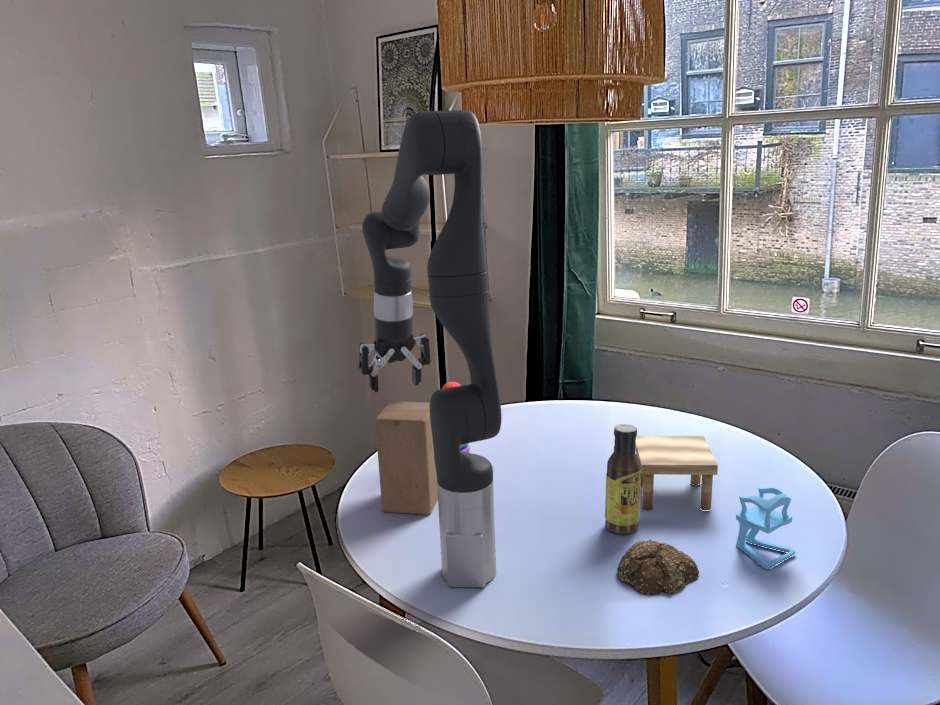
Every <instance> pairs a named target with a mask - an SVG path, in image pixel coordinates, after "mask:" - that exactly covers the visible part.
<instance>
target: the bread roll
mask: <svg viewBox="0 0 940 705" xmlns="http://www.w3.org/2000/svg"><path fill="white" fill-rule="evenodd" d="M616 571H617V576H618V578H619V580H620V581H621V582H624V583H626V584H630V585H632V586H633V587H634V588H635V589H636V591H637V592H639V593H640V594H643V595H647V596H650V595H651V596H654V595H659V594H660V595H661V594H662V593H666V594H676V593H678V592H679V591H681V590H684V589H685V588H686V587H687V585H688V584H690V583H691V582H694V581H696V580H698V576H699V574H700V571H699V567H698V565H697V564H696V561H694V559H693V558H692V557H691V556H689V555H688V554H686V553H685V552H684V551H681V550H678V548H677V547H674V546H673V545H672V544H671V545H670V544H669V543H665V542H659V541H658V540H652V539H648V540H643V541H641V540H640V541H638V542H635V543H634V544H633V545H631V547H629V548H628V549H627V550H626V551H625V553H624V555H623V556H621V559H620V560H619V563H618V565H617V569H616Z"/></svg>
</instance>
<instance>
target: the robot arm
mask: <svg viewBox="0 0 940 705" xmlns="http://www.w3.org/2000/svg"><path fill="white" fill-rule="evenodd" d="M479 124H480V123H479V121H478V119H477V116H476V115H475V114H474V113H473V112H472V111H471V110H467V109H460V110H459V109H454V110H453V109H450V110H425V111H419V112H415V113H414V114H412V115H410V117H409V118H408V120H407V122H406V123H405V126H404V128H403V131H402V135H401V139H400V144H399V149H398V153H397V160H396V164H395V171H394V177H393V180H392V183H391V186H390V189H389V190H388V193H387V194H386V196H385V198H384V201H383V204H382V207H381V210H380V211H373V212H370V213H368V214H366V216H365V218H364V220H363V222H362V226H361V227H362V228H361V229H362V234H363V238H364V240H365V241H364V242H365V244H366V247H367V249H368V252H369V256H370V260H371V263H372V268H373V279H374V280H373V283H374V287H373V288H374V296H373V310H372V311H373V315H374V316H373V317H374V318H373V319H374V341H373V343H365V342H364V341H363V342H362V341H361V342H360V343H359V344H358V370H359V371H360V372H361V374H362V375H363V376H366V375H368V386H369V388H370V389H371V391H373V392H374V393H379V375H378V374H379V372H380V371H381V369H383V368H384V367H385V365H386V364H387V363H388V364H392V363H395V362H404V360H405V359H408V360H409V361H410V363H412V365H411V382H412V384H413V385H414V386H416V387H417V386H419V384H420V383H421V382H422V368H423V367H424V366H429V365H430V364H431V361H432V360H431V349H430V348H431V347H430V339H429V338H428V337H427V336H426V335H425V333H420V334H419V336H415V337H414V304H413V302H414V301H413V295H412V268H411V265H410V263H409V262H408V260H406V259H403V258H398V257H390V256H387V255H386V250H387V251H388V250H395V249H405V248H409V247H412V246H414V245H415V244H417V242H418V241H419V240H420V234H421V230H420V229H421V228H420V225H421V224H420V223H421V219H422V217H423V215H424V214H425V212H426V211H427V209H428V207H429V204H430V200H431V191H430V186H429V185H428V182H427V181H426V179H425V178H424V177H423V175H424V176H425V175H426V176H439V175H440V176H441V175H443V176H444V175H454V176H453V177H454V189H453V190H454V191H453V197H452V203H451V207H450V210H449V213H448V216H447V218H446V220H445V223H444V225H443V226H442V228H441V231H440V232H439V234H438V236H437V237H436V240H435V243H434V244H433V247H432V248H431V251H430V254H429V257H428V260H427V267H426V268H427V270H426V272H427V279H428V280H427V281H428V291H429V303H430V306H431V308H432V312H433V313H434V314H435V316H436V318H437V319H438V320H439V322H440V324H441V326H443V327H444V329H445V330H446V332H447V333H448V334H449V336H451V337H452V339H453V340H454V342H455V343H456V344H457V346H458V347H459V349H460V350H461V352H462V354H463V356H464V357H465V360H466V364H467V366H468V370H469V375H470V384H469V383H468V384H464V385H461V386H457V387H451V388H446V389H442V388H441V389H438V390H437V389H436V391H434V392H433V393H432V395H431V397H430V400H429V403H430V422H431V430H432V438H433V448H434V460H435V467H436V473H437V490H438V500H437V504H438V506H437V507H438V521H439V523H438V524H439V540H440V541H439V542H440V558H441V560H440V561H441V573H442V577H443V578H444V580H445V581H446V582H447V586H448V588H449V587H450V588H451V587H452V588H486V585H487V584H488V583H489V582H490V581H492V580H493V579H494V578H495V576H496V574H497V555H496V554H497V553H496V552H497V551H496V528H495V526H496V525H495V502H494V500H495V499H494V497H495V496H494V495H495V493H494V468H493V464H492V463H491V461H490V460H489V459H488V458H486V457H485V456H482V455H480V454H477V453H472V452H470V453H466V452H461V451H460V449H459V447H460V445H462V444H467V443H468V444H470V443H476V442H481V441H482V442H483V441H485V440H490V439H493V438H495V437H496V436H498V435H499V433H500V432H501V426H502V406H501V405H502V404H501V396H500V388H499V384H498V377H497V371H496V366H495V365H496V364H495V358H494V350H493V341H492V340H493V339H492V330H491V327H492V326H491V316H490V315H491V314H490V291H489V278H488V274H489V273H488V265H487V264H488V263H487V256H486V247H485V235H484V222H483V219H484V218H483V144H482V133H481V129H480V125H479ZM416 344H417V346H418V347H419V352H420V357H418V358H417V357H416V356H415V355H414V354H413V353H412V350H413V349H414V348H415V346H416ZM374 350H375V352H376V353H375V354H374V356H373V358H372V361H371V363H370V365H369V356H371V354H372V351H374Z"/></svg>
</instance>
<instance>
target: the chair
mask: <svg viewBox="0 0 940 705" xmlns="http://www.w3.org/2000/svg"><path fill="white" fill-rule="evenodd" d="M757 489H758V493H759V494H758V495H759V496H758V495H748V496H744V495H738V498H739V501H740V505H741V511H740V512H739V513H736V514H735V520H736V521H738V525H739V528H738V530H739V531H738V534H737V539H736V544H735V547H736V548H738V547H739V548H740V549H739V548H738V549H739V550H741V551H742V550H743V551H744V552H743V551H742V552H743V553H745V554H746V553H747V554H748V555H749V556H750V557H751V558H750V557H749V556H748V555H747V554H746V555H747V556H748V557H749V558H750V559H752V558H753V559H754V560H755V561H756V562H757V563H756V562H755V561H754V560H753V559H752V560H753V561H754V562H755V563H756V564H757V565H759V566H760V565H761V566H762V567H761V566H760V567H761V568H763V567H764V568H765V569H764V568H763V569H764V570H766V569H770V568H772V567H773V566H775V565H776V564H778V563H780V562H782V561H783V560H785V559H787V558H789V557H790V556H792V555H794V554H795V555H796V550H795V549H793V548H790V547H787V546H783V545H779V544H776V543H772V542H769V541H764V540H761V539H757V538H755V537H756V536H757V534H758V533H759V531H761V532H763V533H765V534H771V533H773V532H775V530H777V529H779V528H780V527H783V526H786V525H789V524H791V523H792V522H793V517H792V516H789V515H788V508H789V506H790V504H791V502H792V498H791V497H790V496H789V495H787V493H785V492H784V491H783V490H781V489H779V488H776V487H766V488H765V487H760V486H758V488H757ZM764 494H766V495H767V494H773V495H775V496H773V497H771V498H769V499H767V498H765V497H764ZM746 503H751V504H753V505H754V506H753V507H751V508H749V509H748V507H747V505H746ZM781 506H783V507H782V508H781V509H782V510H781V512H779V511H777V510H776V509H777V508H779V507H781ZM745 541H747V542H749V543H752V544H756V545H759V546H764V547H767V548H772V549H776V550H780V551H784V552H788V553H786V554H785V553H783V554H782V555H780V556H778V557H776V558H774V559H772V560H770V561H769V562H767V561H766V560H764V558H762V557H761V556H760V555H758V553H757V552H755V551H754V549H752V548H751V547H750V546H749V545H748V544H749V543H748V544H747V542H745ZM752 544H751V545H752ZM759 546H758V547H759ZM772 569H773V568H772ZM770 570H771V569H770Z"/></svg>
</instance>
